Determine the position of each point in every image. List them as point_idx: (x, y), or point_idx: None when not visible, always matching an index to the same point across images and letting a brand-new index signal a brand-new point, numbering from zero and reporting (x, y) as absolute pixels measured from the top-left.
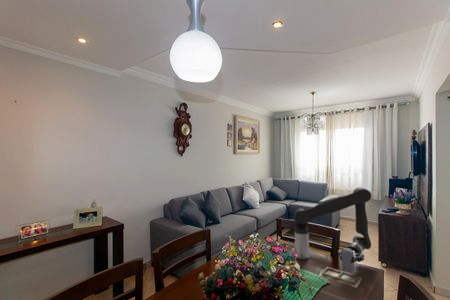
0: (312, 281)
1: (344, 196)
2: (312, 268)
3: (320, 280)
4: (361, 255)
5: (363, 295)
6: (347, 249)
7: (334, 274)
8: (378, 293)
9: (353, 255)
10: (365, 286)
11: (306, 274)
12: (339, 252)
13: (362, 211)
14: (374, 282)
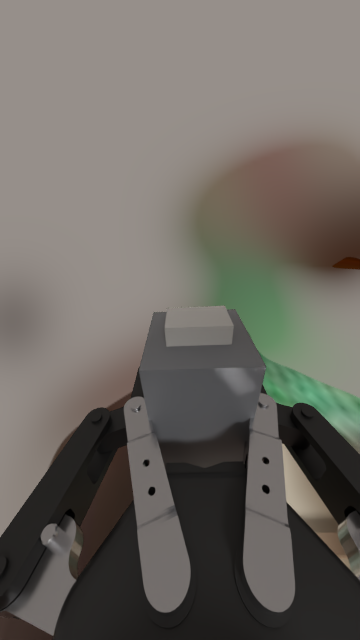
0: (289, 371)
1: None
2: None
3: (281, 393)
4: (38, 518)
5: (122, 397)
6: (187, 307)
7: (285, 484)
8: (58, 451)
9: (148, 412)
10: (108, 482)
11: (356, 399)
12: (305, 409)
13: None
14: (27, 630)
